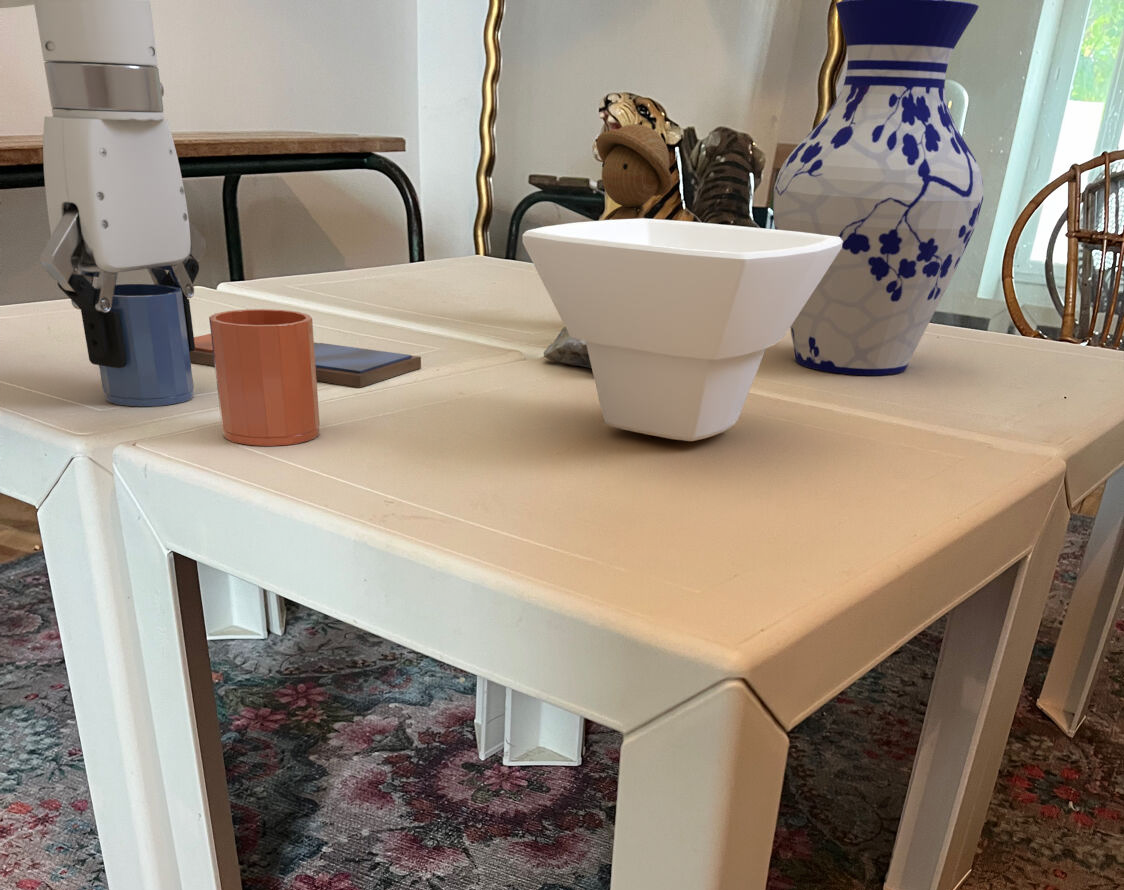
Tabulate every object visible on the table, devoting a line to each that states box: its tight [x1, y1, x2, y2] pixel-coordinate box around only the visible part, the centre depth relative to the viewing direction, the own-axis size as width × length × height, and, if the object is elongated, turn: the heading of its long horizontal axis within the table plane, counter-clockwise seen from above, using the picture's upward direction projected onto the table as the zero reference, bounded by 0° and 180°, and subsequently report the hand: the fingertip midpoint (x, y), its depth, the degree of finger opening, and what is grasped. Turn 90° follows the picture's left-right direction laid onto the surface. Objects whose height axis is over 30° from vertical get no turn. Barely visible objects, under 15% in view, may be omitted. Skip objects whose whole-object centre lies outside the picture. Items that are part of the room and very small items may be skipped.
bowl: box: [522, 217, 843, 442], centre depth 82 cm, size 19×19×14 cm
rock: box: [543, 325, 592, 369], centre depth 105 cm, size 11×6×10 cm
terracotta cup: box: [208, 308, 320, 447], centre depth 79 cm, size 7×7×8 cm
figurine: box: [595, 123, 673, 220], centre depth 119 cm, size 9×7×20 cm
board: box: [189, 333, 422, 389], centre depth 103 cm, size 22×10×1 cm, turn 65°
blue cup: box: [93, 282, 195, 408], centre depth 88 cm, size 7×7×8 cm
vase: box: [772, 0, 984, 376], centre depth 104 cm, size 19×19×30 cm
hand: (144, 355), depth 88 cm, fingers closed on blue cup, 6 cm apart
